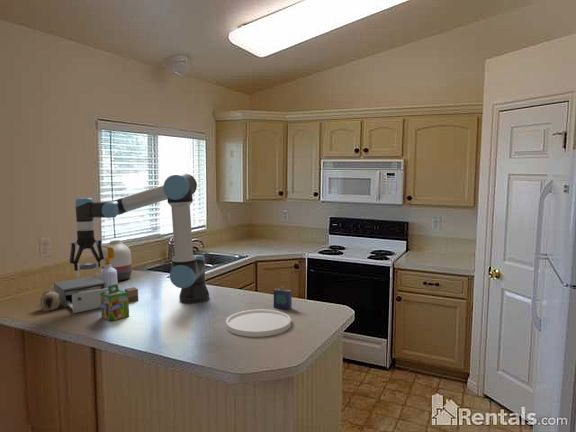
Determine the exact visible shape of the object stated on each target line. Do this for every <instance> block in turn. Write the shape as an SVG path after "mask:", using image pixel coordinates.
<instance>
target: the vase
mask: <svg viewBox="0 0 576 432" xmlns="http://www.w3.org/2000/svg"><path fill="white" fill-rule="evenodd" d="M105 247H111V248H113V249H114V258H113V259H110V261H109V263H111V267H112V268H114V269H116V270H117V282H121V281H122V282H123V281H125V280H128V279H129V278H130V277H131V275H132V274H133V273H132V270H133V269H132V268H133V266H132V253H131V249H130V247H129V246H127V245H126V244H124V243H123V242H122V240H119V239H118V240H117V239H116V240H115V239H114V240H110V242H109V244H108V245H106V246H105ZM102 252H103V257H104V258H106V257H108V249H107V248H104V247H103V249H102ZM105 263H106V261H105V260H101V270H102V269H103V268H105Z"/></svg>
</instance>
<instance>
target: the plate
mask: <svg viewBox="0 0 576 432" xmlns="http://www.w3.org/2000/svg"><path fill="white" fill-rule="evenodd" d="M291 326H292V318H291V316H289V315H288V314H287V313H285V312H283V311H278V310H274V309H265V308H264V309H260V308H259V309H248V310H243V311H238V312H236V313H233V314H231V315H229V316H228V317H227V318H226V320H225V328H226V329H227V331H229V332H230V333H231V334H235V335H238V336H242V337H251V338H255V337H257V338H258V337H268V336H274V335H279V334H281V333H283V332H286V331H288V329H290V328H291Z"/></svg>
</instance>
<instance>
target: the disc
mask: <svg viewBox="0 0 576 432" xmlns="http://www.w3.org/2000/svg"><path fill="white" fill-rule="evenodd" d="M78 264H79V265H80V271H82V270H93V269H95V268H96V263H95V262H84V263H78Z"/></svg>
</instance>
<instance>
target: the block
mask: <svg viewBox="0 0 576 432" xmlns="http://www.w3.org/2000/svg"><path fill="white" fill-rule="evenodd" d="M124 291H125V292H128V300H129V303H133V302H138V301H139V289H138V288H136V287H135V286H133V287H129V288H124Z"/></svg>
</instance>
